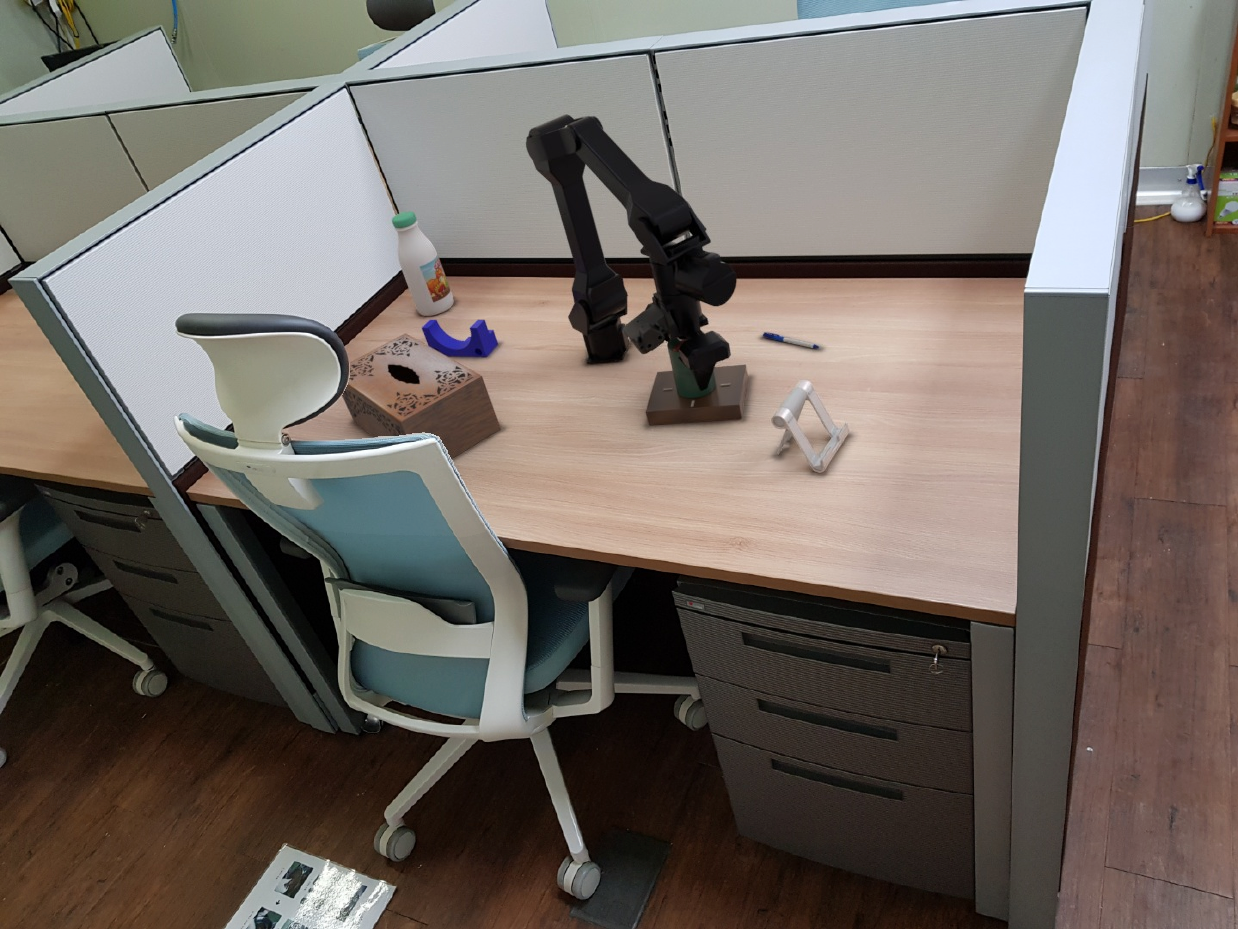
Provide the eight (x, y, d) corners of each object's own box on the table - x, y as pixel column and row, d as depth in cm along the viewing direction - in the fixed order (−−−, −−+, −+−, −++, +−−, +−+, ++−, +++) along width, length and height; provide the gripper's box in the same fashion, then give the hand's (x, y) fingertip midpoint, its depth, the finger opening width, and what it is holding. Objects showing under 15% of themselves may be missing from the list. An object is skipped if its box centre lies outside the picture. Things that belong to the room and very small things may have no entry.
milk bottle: (424, 320, 186) (388, 227, 174) (414, 308, 192) (378, 217, 180) (459, 306, 188) (426, 213, 176) (448, 294, 194) (415, 203, 182)
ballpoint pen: (761, 338, 152) (760, 333, 151) (764, 335, 152) (764, 330, 151) (817, 350, 145) (817, 344, 144) (820, 347, 146) (820, 341, 145)
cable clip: (498, 344, 171) (488, 315, 167) (486, 357, 167) (476, 328, 164) (444, 343, 176) (434, 315, 172) (432, 355, 172) (421, 327, 169)
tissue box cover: (500, 428, 147) (482, 375, 141) (423, 475, 141) (400, 421, 135) (425, 381, 165) (405, 333, 159) (353, 421, 159) (331, 372, 153)
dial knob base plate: (648, 425, 138) (645, 410, 137) (660, 385, 147) (656, 370, 145) (741, 419, 135) (739, 403, 133) (748, 377, 143) (745, 363, 141)
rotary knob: (692, 373, 143) (683, 326, 138) (724, 381, 139) (715, 332, 134) (668, 393, 140) (658, 345, 135) (700, 402, 136) (690, 353, 131)
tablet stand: (825, 474, 120) (819, 421, 116) (770, 464, 125) (762, 413, 120) (849, 436, 126) (845, 384, 121) (795, 427, 130) (789, 377, 125)
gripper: (602, 282, 136) (625, 372, 145) (646, 331, 121) (668, 428, 130) (672, 257, 137) (690, 348, 146) (723, 303, 122) (740, 400, 131)
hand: (695, 380), depth 139 cm, fingers closed on rotary knob, 6 cm apart
